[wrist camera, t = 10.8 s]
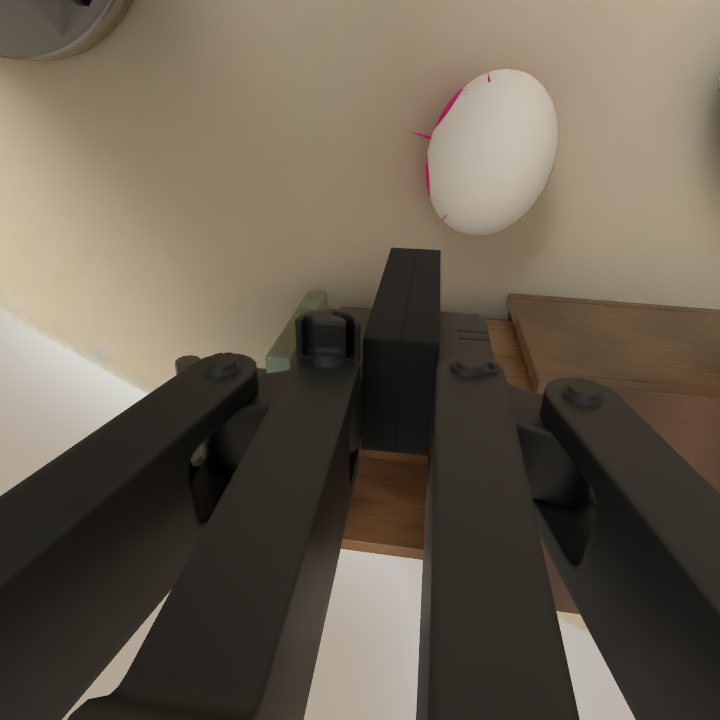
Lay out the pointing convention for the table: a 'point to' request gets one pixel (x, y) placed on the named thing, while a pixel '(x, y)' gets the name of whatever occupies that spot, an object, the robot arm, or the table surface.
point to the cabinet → (631, 371)
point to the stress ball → (492, 152)
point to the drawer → (387, 453)
